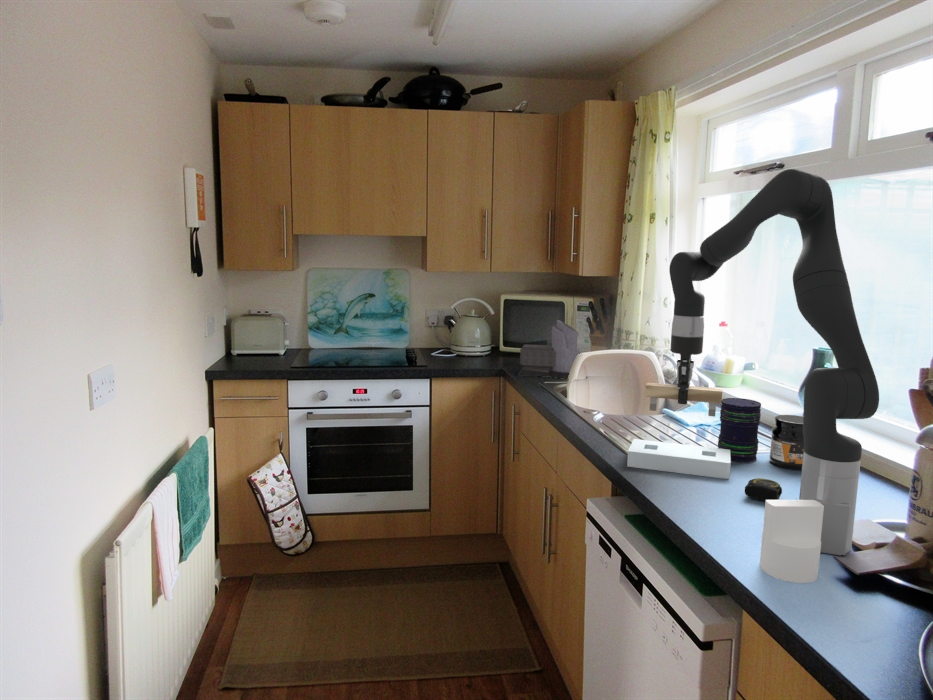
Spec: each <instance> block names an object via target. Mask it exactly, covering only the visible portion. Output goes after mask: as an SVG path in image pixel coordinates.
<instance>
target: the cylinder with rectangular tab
mask: <svg viewBox="0 0 933 700" xmlns="http://www.w3.org/2000/svg"><path fill="white" fill-rule="evenodd" d="M764 503H765V504H764V512H763V513H764V516H763V524H762V526H763V527H762V531H761V546H760V556H759V568H760V569H761V570H762V571H763V572H764V573H765V574H767V575H769V576H771V577H772V578H775V579H777V580H781V581H785V582H789V583H796V584H806V583H807V584H808V583H812V582H815V581H817V579H818V578H819V570H820V569H819V568H820V560H821V559H820V558H821V552H820V550H821V531H822V521H823V511H824V506H823V505H822V504H821V503H819V502H818V501H816V500H799V499H778V500H766V501H765V502H764Z"/></svg>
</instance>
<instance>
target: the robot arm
mask: <svg viewBox="0 0 933 700" xmlns="http://www.w3.org/2000/svg"><path fill="white" fill-rule="evenodd" d="M777 215H780V216H782V217H783V216H784V217H787V218H790V219H793V220H796V222H797V224H798V227H799V231H800V237H801V240H802V247H801V248H802V249H801V252H800V254H799V256H798V259H797V261H796V263H795V266H794V269H793V273H792V284H793V289H794V296H795V300H796V304H797V308H798V311H799V312H800V314H801V316H802V317H803V318H804V319H805V321H806V322H807V323H808V324H809V325H810V327H812V329H813V330H814V331H815V332H816V333H817V334H818V335H819V336H820V337H821V338H822V339H823V341H824V342H825V343H826V344H827V346H828V347H829V349H830V351H832V354H833V356H834V359H835V362H836V364H837V367H819V368H814V369H813V370H812V371H810V372H809V374H808V376H807V378H806V380H805V385H804V392H803V414H802V415H803V437H804V454H803V465H802V470H801V478H800V486H799V487H800V489H799V495H798V496H799V498H798V500H816V501H818V502H819V503H821V504H822V505H823V506H824V511H823V521H822V531H821V550H820V553H823V554H829V555H836V556H841V555H845V554H846V555H847V554H848V553H849V552H851V551H852V545H853V537H854V536H853V535H854V525H855V519H856V518H855V517H856V516H855V515H856V506H857V498H858V497H857V496H858V488H859V479H860V477H859V476H860V469H861V462H862V461H861V460H862V453H863V451H862V450H863V448H862V444H861V443H860V441H858V440H857V439H855V438H853V437H851V436H847V435H844V434H842V433H839V432H838V430H837V420H864V419H865V420H866V419H869V418H871V417H873V416H874V415H876V412H877V411H878V409H879V405H880V392H879V391H880V390H879V385H878V381H877V378H876V377H877V376H876V374H875V372H874V369H873V366H872V362H871V360H870V358H869V355H868V351H867V349H866V347H865V344H864V341H863V338H862V334H861V332H860V327H859V324H858V320H857V317H856V316H857V315H856V312H855V308H854V302H853V298H852V292H851V288H850V284H849V283H850V282H849V280H848V275H847V272H846V268H845V265H844V259H843V257H842V252H841V247H840V241H839V238H838V237H839V236H838V232H837V224H836V218H835V217H836V216H835V205H834V198H833V192H832V188H831V186H830V183H828V181H827V180H826V178H823V177H822V176H819V175H817V174H813V173H810V172H806V171H804V170H802V169H798V168H797V169H796V168H787V169H785V170H783V171H781V172H779V173H777V174H776V175H775V176H774V177H772V178H771V179H770V180H769V181H768V182H767V183H766V184H765V185H764V186H763V187H762V188H761V189H760V191H758V193H756V194H755V196H754V197H752V198H751V199H750V200H749V202H748V203H747V204H746V205H745V206H744V207H743V208H742V209H740V211H738V213H737V214H736V215H734V216H733V217H732V218H731V219H730V220H729V221H728V222H727V223H725V224H724V225H723V226H721V227H720V228H718V229H717V230H716V231H714V232H713V233H712V234H711V235H709V236H708V237H706V238H705V239H703V241H702V242H701V244H700V247H699V251H680V252H677V253H676V254H674V256H673V257H672V259H671V260H670V264H669V270H668V271H669V277H670V278H669V279H670V281H671V288H672V293H673V297H674V305H673V318H672V322H671V323H672V324H671V335H670V336H671V337H670V340H671V341H670V352H671V353H674V354H677V355H678V354H679V355H680V357H679V358H678V359H677V360H676V370H677V371H676V379H677V384H676V385H677V386H678V389H679V391H678V400H677V404H679V405H688V401H687V399H688V389H689V386H691V381H692V378H693V370H694V366H695V359H692V355H695V356H697V355H700V354H702V353H703V347H704V336H705V335H704V332H705V319H704V318H705V317H704V315H705V304H706V303H705V301H706V300H705V299H706V297H705V295H704V293H702V292H701V291H697V290H695V287H694V283H693V282H702V281H705V280H707V279H710V278H711V277H713V276H714V275H715V274H716V273H717V272H718V270H720V268H722V266H723V265H724V263H726V262H727V261H729V260H731V259H732V258H734V257H735V256H737V255H739V254H740V253H741V252H742V251H743V250H745V249H746V248H747V246H748V245H749V244H750V243H751V241H752V239H753V237H754V235H755V233H756V230H757V229H758V228H759V226H760V225H761V224H763V223H764V222H765V221H767V220H769V219H771V218H773V217H775V216H777Z"/></svg>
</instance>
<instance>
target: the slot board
mask: <svg viewBox="0 0 933 700" xmlns="http://www.w3.org/2000/svg"><path fill="white" fill-rule="evenodd" d="M731 463H732V461H731V458H730V450H729V449H720V448H718V447H710V446H700V445H691V444H683V443H682V444H681V443H674V442H665V441H658V440H657V441H656V440H646V439H638V438H637V439H636V438H633V440H632V441H631V444H630V446H629V447H628V450H627V465H626V467H630V468H636V469H637V468H638V469H643V470H644V469H645V470H651V471H652V470H653V471H661V472H669V473H678V474H684V475H691V474H692V475H691V476H693V475H694V476H701V477H707V478H716V479H722V480H723V479H725V480H730V477H731V476H730V475H731V467H732V466H731Z"/></svg>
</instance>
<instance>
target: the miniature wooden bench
mask: <svg viewBox="0 0 933 700" xmlns="http://www.w3.org/2000/svg"><path fill="white" fill-rule="evenodd" d="M678 391H679V389H678V386H677V384H668V383H667V384H666V383H656V382H646V384H645V396H644V398H645V397H646V398H649V411H654V412H657V410H658V400H659V399H665V400H666V399H667V400H676V401H678ZM722 399H723V388H718V387H716V388H715V387H704V386H692V385H689V389H688V399H687V402H688V401H689V402H698V403H699V402H701V403H708V411H707V412H708V415H707V416H708V417H714V418H715V417H716V411H717V404H720V405H722Z"/></svg>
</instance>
